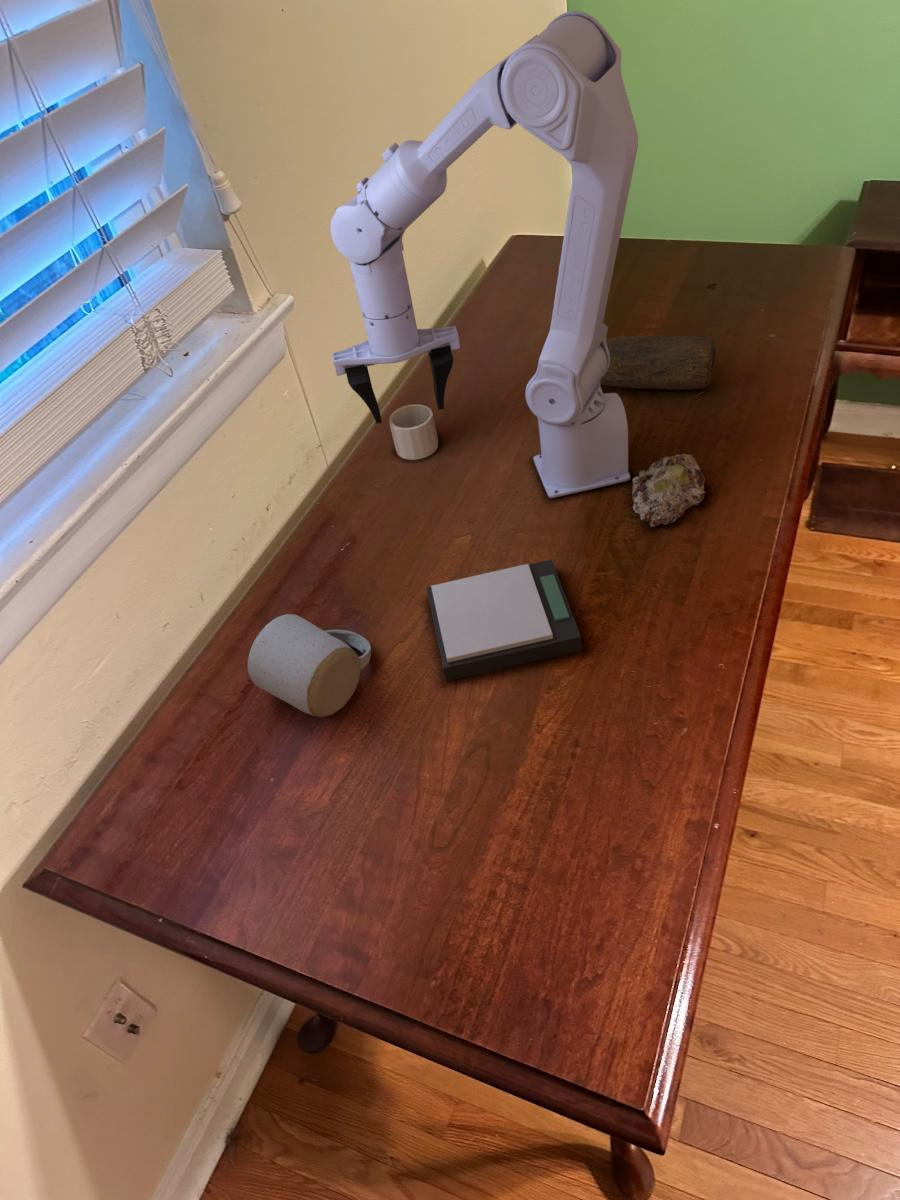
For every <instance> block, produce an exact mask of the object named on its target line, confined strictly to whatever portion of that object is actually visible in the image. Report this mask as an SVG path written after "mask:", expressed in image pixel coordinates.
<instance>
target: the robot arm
mask: <svg viewBox="0 0 900 1200" xmlns="http://www.w3.org/2000/svg"><path fill="white" fill-rule="evenodd" d="M517 124H518V125H519V126H520V127H521V128H522V129H524V130H526V131H527V132H528V133H529V134H530V135H533V136H534V137H535V138H537V139H538V140H540V142H543V143H544V144H545V145H547V146H548V147H550V148H551V149H552V150H554V151H555V152H556V153H558V154H560V155H561V156H562V157H564V159H565V160H567V162H568V164H570V166H571V167H572V171H573V172H572V178H571V185H570V192H569V199H568V206H567V213H566V220H565V227H564V234H563V240H562V245H561V253H560V258H559V259H560V260H559V268H558V274H557V281H556V287H555V295H554V302H553V308H552V314H551V321H550V327H549V332H548V334H547V337H546V340H545V342H544V344H543V347H542V350H541V353H540V355H539V358H538V362H537V363H538V364H537V369H536V372H535V373H534V375H532V377H531V378H530V379H529V381H528V382H527V384H526V386H525V392H524V396H525V401H526V404H527V407H528V408H529V410H530V412H532V414H533V415H534V416H536V418H537V424H538V425H537V426H538V434H539V436H538V437H539V444H540V445H539V446H540V454H536V455H534V456H533V457H532V458H533V463H534V465H535V468H536V470H537V473H538V475H539V477H540V481H541V482H542V485H543V488H544V491H545V492H546V495H547V497H548V498H550V499H555V498H559V497H563V496H568V495H572V494H578V493H580V492H585V491H590V490H595V489H599V488H603V487H607V486H612V485H617V484H621V483H625V482H629V481H630V480H631V474H630V472H629V426H628V419H627V414H626V413H627V412H626V410H625V405H624V403H623V400H622V398H621V397H620V395H619V393H617V392H607V393H606V392H605V393H603V389H602V386H601V385H602V384H600V379H601V378H602V377H603V376H604V375H605V373H606V372H607V370H608V368H609V365H610V354H609V350H608V347H607V343H606V338H607V335H608V330H609V327H608V326H607V324H605V323H604V319H605V314H606V309H607V304H608V299H609V294H610V289H611V284H612V279H613V274H614V269H615V264H616V259H617V254H618V250H619V243H620V239H621V234H622V228H623V224H624V218H625V214H626V208H627V204H628V199H629V193H630V189H631V185H632V184H631V183H632V178H633V173H634V168H635V165H636V164H635V163H636V160H637V159H636V158H637V154H638V149H639V133H638V129H637V125H636V123H635V119H634V114H633V112H632V108H631V105H630V101H629V98H628V94H627V90H626V86H625V83H624V79H623V76H622V50H621V48H620V46H619V45H618V44H617V43H616V41H615V40H614V38H612V37H611V35H610V34H609V32H608V31H607V30H606V28H605V27H604V26H603V25H602V23H600V21H599V20H598V19H597V18H595V17H594V16H593V15H591V14H589V13H587V12H583V11H579V10H571V11H567V12H563V13H562V14H560V15H558V16H557V17H555V18H554V19H553V20H552V21H550V22H549V24H548V25H547V27H546V28H545V29H543V30H542V31H541V32H540V33H539V34H536V35H534V36H533V37H532V38H530V39H528V40H527V41H526V42H524V43H523V44H522V45H521V46H519V47H518V48H517V49H515V50H514V51H512V52H511V53H509V54H508V55H507V56H506V57H504V58H503V59H501V60H500V61H498V63H496V64H495V65H494V66H492V67H491V68H490V69H489V70H487V72H485V73H484V74H483V75H481V76H480V77H479V78H477V80H476V81H474V83H473V84H472V85H471V86H470V88H469V89H468V90H467V91H466V92H465V93H464V94H463V96H462V97H461V98H460V99H459V100H458V102H457V103H456V104H455V105H454V106H453V107H452V108H451V110H450V111H449V112H448V113H447V114H446V115H445V116H444V118H443V119H442V120H441V121H440V122H439V124H437V126H436V127H434V129H433V130H432V131H431V133H430V134H429V135H428V136H427V137H426V138H425V139H424V140H423V141H422V140H415V139H410V140H409V139H408V140H405V141H402V143H400V145H399V144H398V143H397V142H394V143H392V144H391V145H390V146H389V147H388V148H387V149H386V150H385V151H384V152H383V153H382V154H381V158H382V159H383V160H384V162H383V163H382V165H381V166H380V167H379V168H378V169H377V170H376V171H375V172H374V173H373V174H372V176H370V178H369V177H367V176H366V177H364V178H362V179H361V180H360V181H359V182H358V183H357V184H356V186H355V188H356V190H357V191H358V193H357V194H356V195H355V196H354V197H352V198H351V199H350V200H349V201H347V202H346V203H345V204H342V205H340V206H338V207H337V208H336V210H335V213H334V215H333V216H332V218H331V221H330V225H329V226H330V227H329V230H330V236H331V240H332V242H333V244H334V246H335V248H336V250H338V252H339V253H340V254H341V255H342V256H343V257H344V258H345V259H346V260H348V263H349V267H350V271H351V276H352V279H353V284H354V288H355V291H356V297H357V300H358V304H359V305H358V306H359V309H360V312H361V317H362V320H363V321H362V322H363V325H364V329H365V333H366V337H367V340H365V341H363V342H360V343H358V344H356V345H353V346H351V347H348V348H345V349H342V350H339V351H335V352H332V353H331V358H332V363H333V367H334V369H335V374H336V376H337V377H339V376H343V375H346V379H347V383H348V385H349V386H350V388H351V389H352V390H353V391H354V392H355V393H356V394H357V395H358V396H359V397H360V398H361V400H362V401H363V402H364V403H365V405H366V407H367V408H368V409H369V411H370V413H371V414H372V417H373V419H374V421H375V424H381V423H383V421H382V415H381V411H380V406H379V404H378V400H377V397H376V394H375V392H374V389H373V385H372V381H371V380H372V379H371V376H370V372H369V367H371V366H375V365H381V364H384V365H385V364H388V365H389V364H397V363H401V362H405V361H408V360H410V359H413V358H414V357H417V356H420V355H424V354H428V360H429V364H430V369H431V374H432V375H431V376H432V383H433V391H434V398H435V402H436V406H437V409H438V411H441V410H444V409H445V393H446V386H447V382H448V379H449V375H450V373H451V371H452V368H453V365H454V356H453V353H452V351H456V350H459V349H461V344H460V337H459V332H458V330H457V327H456V325H452V326H447V327H437V328H436V327H435V328H418V326H417V325H418V324H417V321H416V315H415V311H414V306H413V300H412V294H411V289H410V285H409V279H408V274H407V269H406V268H407V267H406V264H405V259H404V258H405V257H404V253H403V251H404V250H405V249H404V243H403V237H404V234H405V232H406V230H407V229H408V228H409V227H410V226H411V225H412V224H413V223H414V222H416V220H417V219H418V218H420V216H421V215H422V214H423V213H425V211H427V210H428V209H429V208H430V207H431V205H433V204H434V203H435V202H436V201H437V200H438V199H439V198H440V197H441V196H442V195H443V194H444V193H445V191H446V189H447V184H448V175H447V174H448V173H447V172H448V171H447V169H448V168H449V167H450V166H452V165H453V164H454V162H456V161H457V160H458V159H459V158H460V157H461V156H462V155H463V154H464V153H465V152H467V150H469V148H471V147H472V146H473V145H474V144H475V143H476V142H477V141H478V140H479V139H480V138H481V137H482V136H484V135H485V133H487V132H488V131H489V130H490V129H491V128H492V127H493V126H495V127H499V128H501V129H503V130H512V129H513V127H515V126H516V125H517Z"/></svg>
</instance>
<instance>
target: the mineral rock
mask: <svg viewBox="0 0 900 1200" xmlns="http://www.w3.org/2000/svg"><path fill="white" fill-rule="evenodd" d="M705 483H706V478H705V475H704V473H703V469H701V468H700V466H699V465H698V463H697V460H696V459H695V458H694V456H693V455H692V454H686V453H683V454H674V455H673V456H664V457H663V458H660V459H659V460H656V461H655V462H653V463H652V464H650V465H649V467H648V469H647V470H644V469H642V470H640V471H639V472H638V476H634V477H633V478H632V489H631V490H632V491H631V496H632V497H631V500H632V501H633V505H632V510H633V511H634V513H635V514H638V515H639V517H640V521H643V522H645V523H647V522H648V523H649V525H650V527H651V528H655V527H658V526H659V525H670V524H673V523H675V522H676V521H677V519H681V517H683V515H684V514H685V511H686V510H687V509H689V508H691V507H692V506H698V505H699V504H700V503H701V502H703V501H704V498H705V494H706V493H707V492H706V491H705V490H704V489H705V487H704V486H705Z"/></svg>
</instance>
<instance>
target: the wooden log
mask: <svg viewBox="0 0 900 1200" xmlns="http://www.w3.org/2000/svg"><path fill="white" fill-rule="evenodd" d="M606 343H607V347H608V350H609V354H610V365H609V368H608V370H607V372H606V373H605V375H604V376H603V377H602V378H601V379H600V385H602V386H606V387H615V388H625V389H635V390H636V389H639V390H643V389H644V390H645V389H646V390H667V391H675V390H676V391H677V390H682V391H683V390H698V389H705V388H708V387H709V385H710V383H711V380H712V376H713V374H714V373H713V372H714V368H715V364H716V356H717V347H716V346H717V345H716V343H715V339H713V338H712V337H708V336H707V337H706V336H699V335H698V336H697V335H696V336H695V335H625V336H624V335H623V336H611V337H606Z"/></svg>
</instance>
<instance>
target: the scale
mask: <svg viewBox="0 0 900 1200" xmlns="http://www.w3.org/2000/svg"><path fill="white" fill-rule="evenodd" d="M426 592H427V596H428V602H429V607H430V612H431V616H432V622H433V625H434V626H433V627H434V631H435V636H436V640H437V645H438V651H439V654H440V658H441V664H442V669H443V672H444V675H445V676H444V677H445V681H446V682H449V681H450V682H451V681H455V680H459V679H463V678H469V677H472V676H476V675H481V674H486V673H490V672H495V671H499V670H503V669H507V668H511V667H516V666H520V665H525V664H529V663H533V662H538V661H542V660H546V659H551V658H555V657H560V656H564V655H569V654H572V653H577V652H581V651H582V650H583V647H582V636H581V633H580V631H579V627H578V625H577V622H576V620H575V618H574V617H575V616H574V615H573V612H572V609H571V606H570V604H569V601H568V599H567V598H568V597H567V596H566V593H565V591H564V588H563V585H562V583H561V580H560V578H559V574H558V572H557V570H556V567H555V564H554V562H553V560H552V559H547V560H542V561H537V562H534V563H525V564H520V565H516V566H511V567H507V568H503V569H499V570H494V571H490V572H486V573H485V572H484V573H481V574H477V575H472V576H468V577H462V578H459V579H454V580H451V581H450V580H449V581H446V582H442V583H437V584H433V585H431V586H429V587H426Z"/></svg>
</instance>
